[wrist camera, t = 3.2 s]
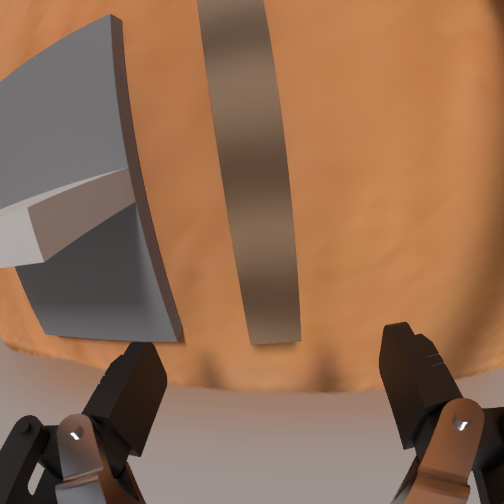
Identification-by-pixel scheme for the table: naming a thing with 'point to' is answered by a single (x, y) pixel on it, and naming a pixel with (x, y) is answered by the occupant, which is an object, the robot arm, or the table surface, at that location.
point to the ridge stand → (80, 194)
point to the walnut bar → (253, 164)
